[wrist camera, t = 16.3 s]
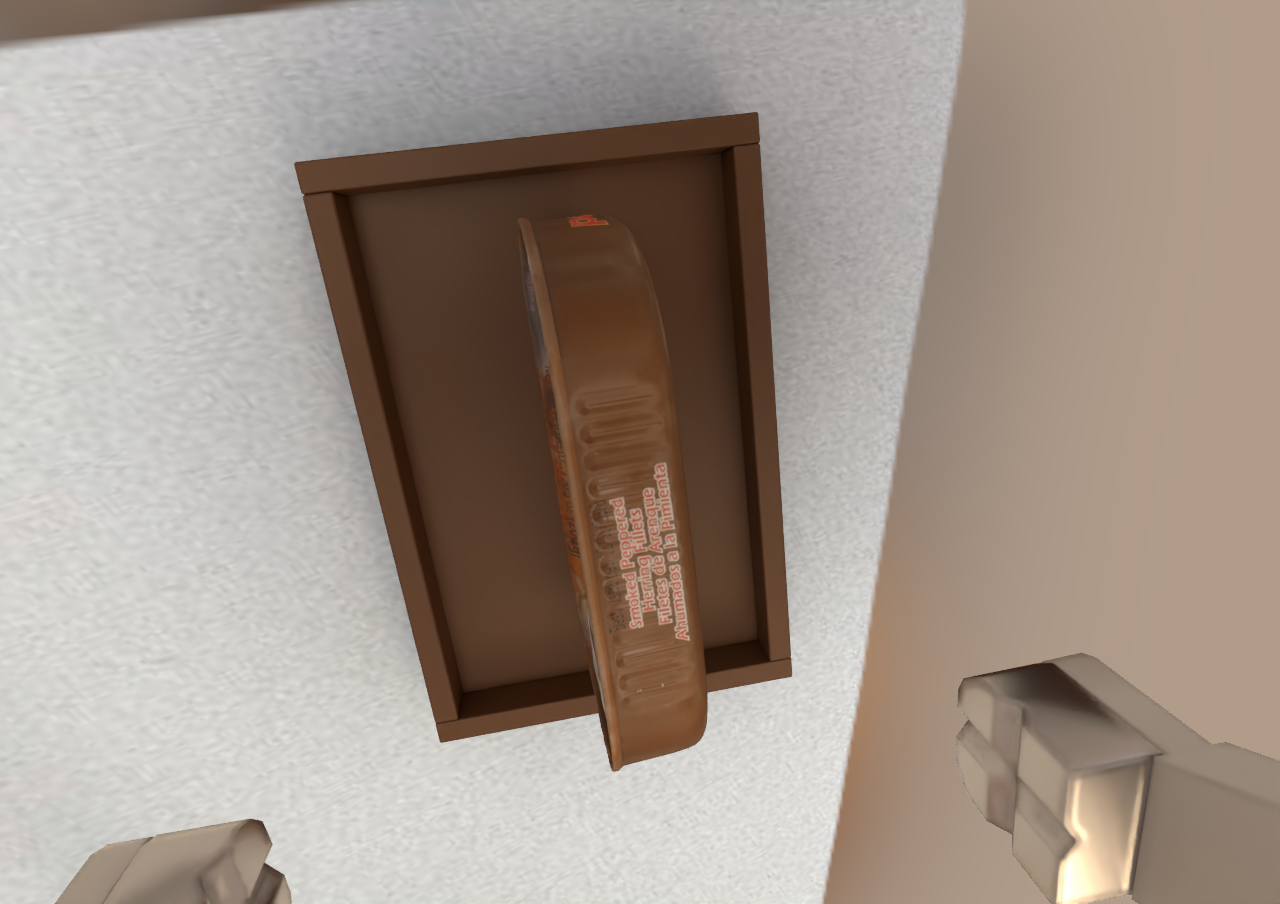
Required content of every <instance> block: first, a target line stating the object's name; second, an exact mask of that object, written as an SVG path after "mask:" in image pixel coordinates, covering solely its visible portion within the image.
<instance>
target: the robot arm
mask: <svg viewBox="0 0 1280 904" xmlns="http://www.w3.org/2000/svg"><path fill="white" fill-rule="evenodd" d="M957 706H958V708H959V709H960V710H961V711H962V712H963V714H964V715H965V716H966V717H967V718H968V719H969V720H968V721H967V722H966V724H965V725H964V727H963V728H962V730H961V731H960V732H959V734H958V735H957V737H956V760H957V764H958V767H959V771H960V774H961V777H962V780H963V784H964V786H965V788H966V790H967V792H968V794H969V795H970V797H971V799H972V801H973V803H974V804H975V805H976V807H977V808H978V810H979V811H980V812H981V814H982V815H983V816H984V818H985V819H986V820H987V821H988V822H990V823H992V824H994V825H996V826H997V827H999V828H1001V829H1003V830H1005V831H1007V832H1009V833H1010V834H1012V844H1013V845H1012V847H1013V855H1014V857H1015V858H1016V860H1017V861H1018V862H1019V863H1020V865H1021V866H1022V867H1023V869H1024V870H1025V871H1026V872H1027V874H1028V875H1029V876H1030V878H1031V879H1032V880H1033V881H1034V883H1035V884H1036V885H1037V887H1038V888H1039V889H1040V891H1041V892H1042V893H1043V894H1044V896H1045V897H1046V898H1047V899H1048V901H1049V902H1050V903H1051V904H1086V903H1091V902H1096V901H1101V900H1106V899H1111V898H1116V897H1121V896H1126V895H1131V894H1132V900H1134V901H1135V902H1137V903H1139V904H1280V761H1278V760H1275V759H1273V758H1270V757H1267V756H1264V755H1261V754H1258V753H1255V752H1253V751H1250V750H1247V749H1244V748H1241V747H1238V746H1235V745H1233V744H1230V743H1227V742H1224V743H1218V744H1213V745H1212V744H1211V743H1210V742H1208V741H1207V740H1205V739H1204V738H1203V737H1201V736H1200V735H1199V734H1197V733H1196V732H1195V731H1194V730H1192V729H1191V728H1190V727H1188V726H1187V725H1185V724H1184V723H1183V722H1182V721H1180V720H1178V719H1177V718H1176V717H1175V716H1173V715H1172V714H1171V713H1169V712H1168V711H1167V710H1165V709H1164V708H1163V707H1161V706H1160V705H1159V704H1157V703H1156V702H1155V701H1153V700H1152V699H1151V698H1149V697H1148V696H1147V695H1145V694H1144V693H1143V692H1141V691H1140V690H1139V689H1137V688H1136V687H1135V686H1133V685H1132V684H1131V683H1129V682H1128V681H1127V680H1125V679H1124V678H1123V677H1121V676H1120V675H1119V674H1117V673H1116V672H1115V671H1113V670H1112V669H1110V668H1109V667H1108V666H1106V665H1105V664H1104V663H1102V662H1101V661H1100V660H1099V659H1097V658H1095V657H1093V656H1090V655H1086V654H1084V653H1079V654H1075V655H1070V656H1065V657H1061V658H1056V659H1052V660H1047V661H1043V662H1042V663H1037V664H1032V665H1027V666H1021V667H1017V668H1012V669H1007V670H1002V671H998V672H993V673H987V674H983V675H978V676H973V677H968V678H964V679H963V681H962V683H961V685H960V687H959V689H958V705H957ZM271 847H272V842H271V840H270V837H269V835H268V833H267V831H266V828H265V826H264V824H263V822H262V821H259V820H254V819H246V820H241V821H235V822H229V823H223V824H217V825H211V826H206V827H200V828H194V829H188V830H182V831H177V832H171V833H165V834H159V835H156V836H155V837H148V838H142V839H136V840H130V841H125V842H119V843H113V844H108V845H106V846H105V847H103V848H101V849H100V850H98V851H97V852H95V853H94V854H92V855H91V856H90V857H89V858H88V860H87V861H86V862H85V864H84V865H83V866H82V868H81V869H80V870H79V872H78V873H77V874H76V876H75V877H74V879H73V880H72V881H71V883H70V884H69V885H68V887H67V888H66V889H65V891H64V892H63V893H62V895H61V896H60V897H59V899H58V900H57V901H56V903H55V904H292V901H291V893H290V890H289V887H288V884H287V881H286V878H285V876H284V875H283V874H282V873H280V872H279V871H277V870H275V869H274V868H272V867H271V866H269V865H267V864H266V863H264V862H265V860H266V858H267V856H268V853H269V851H270V849H271Z"/></svg>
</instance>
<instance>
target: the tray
mask: <svg viewBox="0 0 1280 904" xmlns="http://www.w3.org/2000/svg"><path fill="white" fill-rule="evenodd" d="M759 142H760V135H759V119H758V113H757V112H752V113H743V114H734V115H725V116H716V117H706V118H697V119H688V120H679V121H670V122H660V123H651V124H642V125H633V126H624V127H614V128H605V129H596V130H587V131H578V132H568V133H559V134H550V135H541V136H532V137H522V138H513V139H504V140H495V141H486V142H477V143H467V144H458V145H449V146H440V147H431V148H421V149H412V150H403V151H394V152H385V153H375V154H366V155H357V156H348V157H339V158H329V159H320V160H311V161H302V162H296V163H295V169H296V173H297V177H298V181H299V185H300V189H301V192H302V194H305V195H304V196H303V200H304V204H305V207H306V211H307V215H308V219H309V223H310V227H311V231H312V235H313V239H314V243H315V247H316V251H317V255H318V259H319V263H320V267H321V271H322V275H323V279H324V283H325V287H326V291H327V295H328V299H329V303H330V307H331V311H332V315H333V319H334V322H335V326H336V330H337V334H338V338H339V342H340V346H341V350H342V354H343V358H344V362H345V366H346V370H347V374H348V378H349V382H350V386H351V390H352V394H353V398H354V402H355V406H356V410H357V414H358V418H359V422H360V426H361V430H362V434H363V437H364V441H365V445H366V449H367V453H368V457H369V461H370V465H371V469H372V473H373V477H374V481H375V485H376V489H377V493H378V497H379V501H380V505H381V509H382V513H383V517H384V521H385V525H386V529H387V533H388V537H389V541H390V545H391V549H392V553H393V556H394V560H395V564H396V568H397V572H398V576H399V580H400V584H401V588H402V592H403V596H404V600H405V604H406V608H407V612H408V616H409V620H410V624H411V628H412V632H413V636H414V640H415V644H416V648H417V652H418V656H419V660H420V664H421V668H422V671H423V675H424V679H425V683H426V687H427V691H428V695H429V699H430V703H431V707H432V711H433V715H434V719H435V722H436V728H437V732H438V736H439V740H440V742H441V743H442V742H448V741H453V740H458V739H463V738H469V737H474V736H479V735H485V734H490V733H495V732H501V731H506V730H511V729H516V728H522V727H527V726H532V725H538V724H543V723H548V722H554V721H559V720H564V719H569V718H575V717H580V716H585V715H591V714H596V713H599V712H598V707H597V702H596V698H595V694H594V689H593V685H592V680H591V675H590V670H589V666H588V662H587V657H586V651H585V646H584V642H583V636H582V632H581V627H580V622H579V617H578V611H577V606H576V600H575V593H574V588H573V583H572V578H571V574H570V568H569V562H568V556H567V550H566V544H565V539H564V533H563V527H562V521H561V515H560V509H559V503H558V496H557V490H556V485H555V479H554V472H553V466H552V461H551V455H550V448H549V442H548V436H547V430H546V424H545V418H544V413H543V407H542V401H541V395H540V389H539V383H538V377H537V371H536V366H535V358H534V351H533V345H532V337H531V333H530V328H529V323H528V316H527V310H526V304H525V298H524V291H523V283H522V273H521V260H520V248H519V240H518V231H517V220H518V219H519V218H526V219H528V220H529V221H542V220H551V219H560V218H567V217H574V216H581V215H591V214H605V215H609V216H611V217H613V218H614V219H616V220H618V221H619V222H621V223H623V224H624V225H625V226H626V227H627V228H628V229H629V230H630V231H631V232H632V234H633V235H634V237H635V239H636V241H637V243H638V245H639V248H640V250H641V252H642V254H643V257H644V259H645V262H646V264H647V267H648V269H649V272H650V276H651V279H652V283H653V286H654V290H655V293H656V297H657V300H658V304H659V307H660V312H661V317H662V322H663V326H664V331H665V336H666V341H667V347H668V352H669V358H670V364H671V370H672V376H673V383H674V389H675V398H676V406H677V415H678V423H679V431H680V439H681V447H682V453H683V465H684V474H685V481H686V489H687V497H688V506H689V515H690V526H691V534H692V542H693V551H694V560H695V569H696V578H697V590H698V598H699V607H700V618H701V628H702V638H703V650H704V659H705V668H706V681H707V692H712V691H718V690H723V689H728V688H734V687H739V686H744V685H750V684H755V683H760V682H765V681H771V680H776V679H781V678H787V677H791V676H792V665H791V658H790V657H791V650H790V633H789V617H788V601H787V584H786V568H785V551H784V535H783V518H782V502H781V485H780V469H779V452H778V436H777V419H776V403H775V386H774V370H773V353H772V337H771V320H770V304H769V287H768V271H767V254H766V238H765V221H764V205H763V188H762V172H761V155H760V145H759V144H758V143H759Z"/></svg>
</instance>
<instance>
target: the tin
mask: <svg viewBox="0 0 1280 904" xmlns="http://www.w3.org/2000/svg"><path fill="white" fill-rule="evenodd" d="M517 231H518V240H519V248H520V260H521V273H522V283H523V291H524V298H525V304H526V310H527V316H528V323H529V328H530V333H531V337H532V345H533V351H534V358H535V366H536V371H537V377H538V383H539V389H540V395H541V401H542V407H543V413H544V418H545V424H546V430H547V436H548V442H549V448H550V455H551V461H552V466H553V472H554V479H555V485H556V490H557V496H558V503H559V509H560V515H561V521H562V527H563V533H564V539H565V544H566V550H567V556H568V562H569V568H570V574H571V578H572V583H573V588H574V593H575V600H576V606H577V611H578V617H579V622H580V627H581V632H582V636H583V642H584V646H585V651H586V657H587V662H588V666H589V670H590V675H591V680H592V685H593V689H594V694H595V698H596V702H597V707H598V712H599V718H600V723H601V728H602V732H603V735H604V742H605V745H606V749H607V754H608V758H609V763H610V766H611V768H612V771H614V772H615V771H619V770H620V769H621V768H622V767H623V766H624V765H628V764H632V763H636V762H639V761H643V760H647V759H651V758H655V757H659V756H663V755H667V754H671V753H674V752H677V751H680V750H683V749H686V748H689V747H691V746H693V745H695V744H697V743H698V742H699V741H700V740H701V738H702V736H703V734H704V731H705V728H706V723H707V681H706V668H705V659H704V650H703V638H702V628H701V618H700V607H699V598H698V590H697V578H696V569H695V560H694V551H693V542H692V534H691V526H690V515H689V506H688V497H687V489H686V481H685V474H684V465H683V453H682V447H681V439H680V431H679V423H678V415H677V406H676V398H675V389H674V383H673V376H672V370H671V364H670V358H669V352H668V347H667V341H666V336H665V331H664V326H663V322H662V317H661V312H660V307H659V304H658V300H657V297H656V293H655V290H654V286H653V283H652V279H651V276H650V272H649V269H648V267H647V264H646V262H645V259H644V257H643V254H642V252H641V250H640V248H639V245H638V243H637V241H636V239H635V237H634V235H633V234H632V232H631V231H630V230H629V229H628V228H627V227H626V226H625V225H624V224H623V223H621V222H619V221H618V220H616V219H614V218H613V217H611V216H609V215H605V214H591V215H581V216H574V217H567V218H560V219H551V220H542V221H529V220H528V219H526V218H519V219H518V220H517Z"/></svg>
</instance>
